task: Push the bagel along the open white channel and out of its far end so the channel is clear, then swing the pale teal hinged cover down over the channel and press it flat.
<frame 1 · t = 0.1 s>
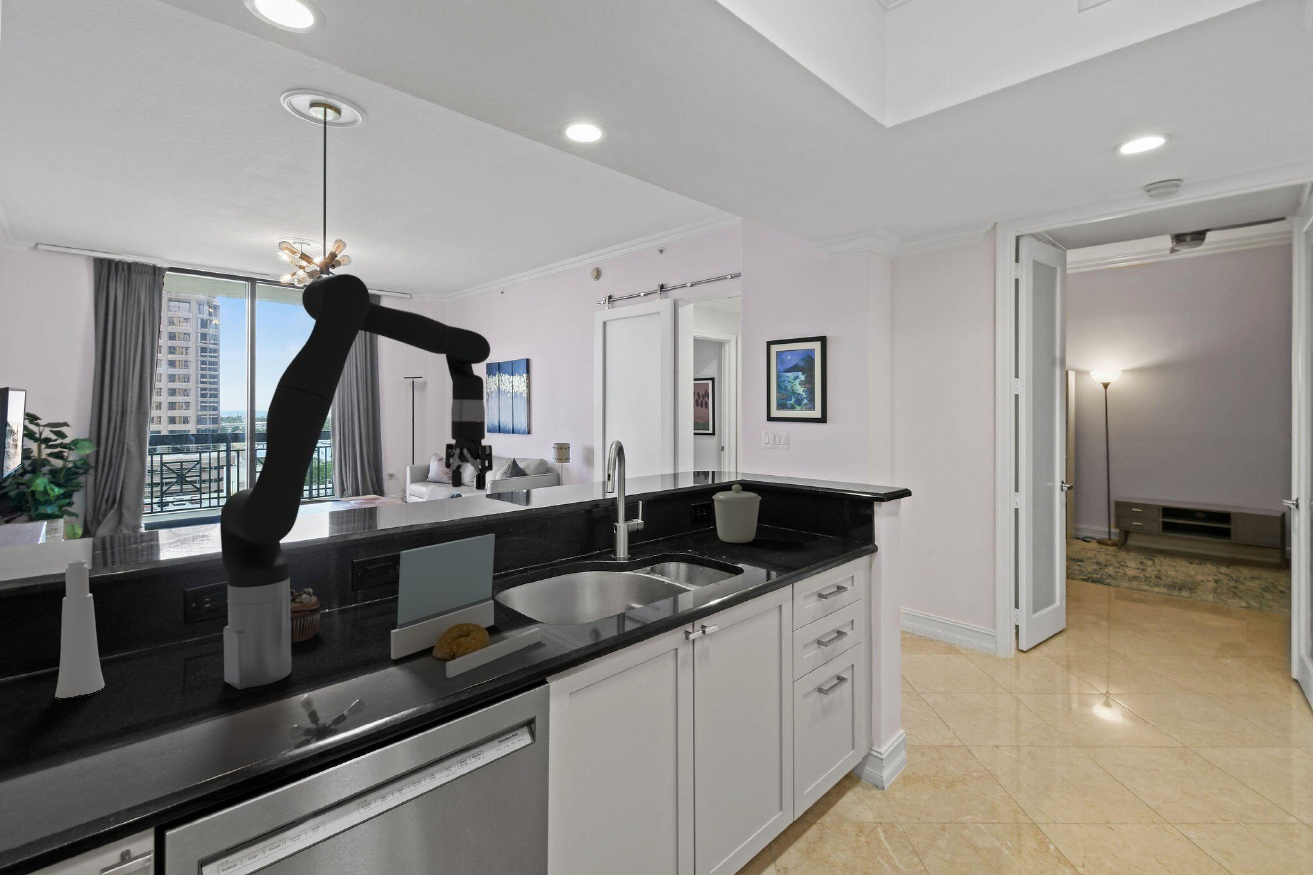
hand: (468, 488, 144), 29 cm above the worktop, tool pointing down, fingers open, 8 cm apart
canister: (736, 541, 229), on the worktop
cosmetic bottle: (80, 692, 102), on the worktop
cork: (433, 607, 148), on the worktop
cover: (449, 578, 125), point 13 cm above the worktop, hinge at 85.0°
white channel: (469, 648, 122), on the worktop
cupcake: (295, 637, 128), on the worktop
bagel: (461, 653, 120), on the worktop
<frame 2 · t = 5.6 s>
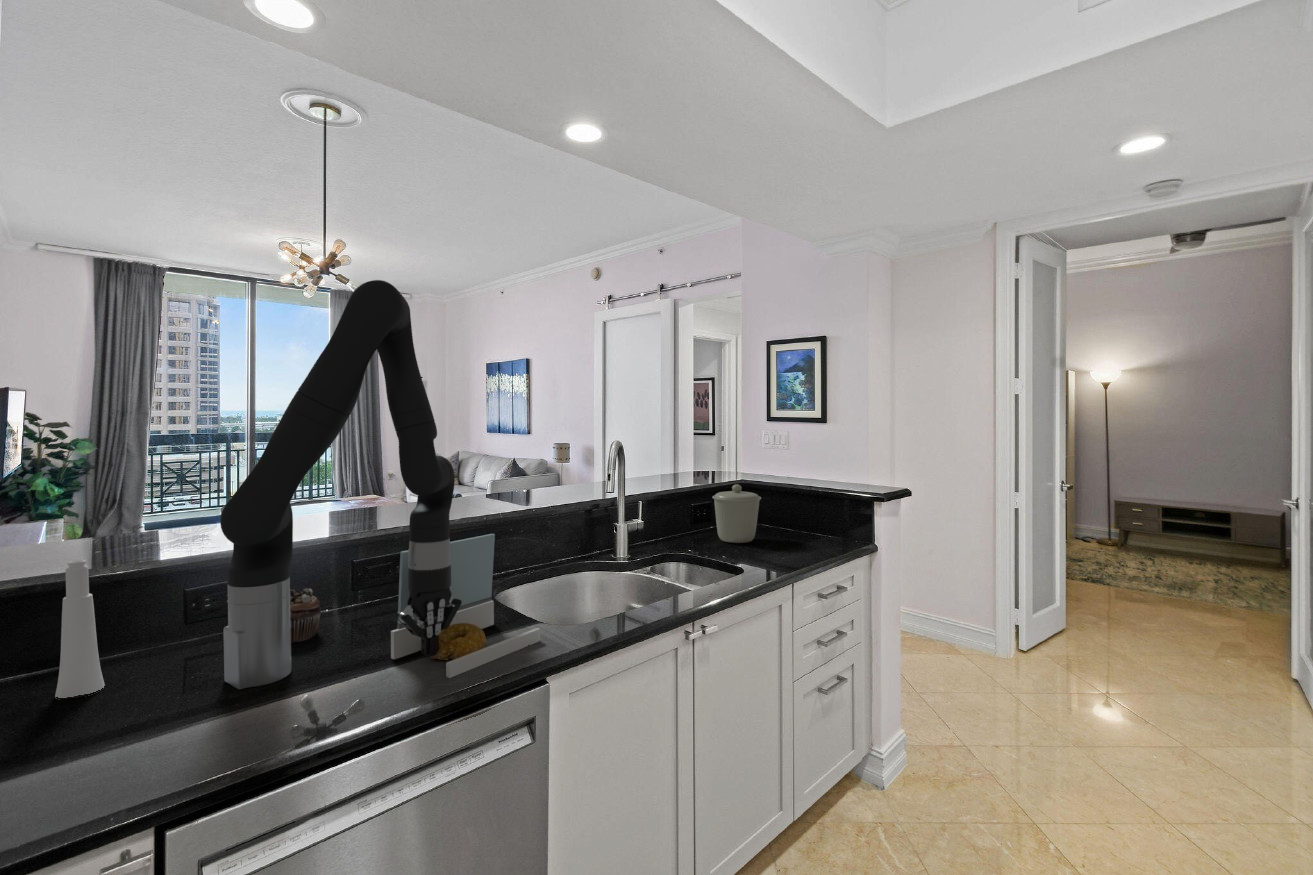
hand: (430, 655, 114), 2 cm above the worktop, tool pointing down, fingers closed
bagel: (457, 653, 120), on the worktop, touching gripper
everything else where it was.
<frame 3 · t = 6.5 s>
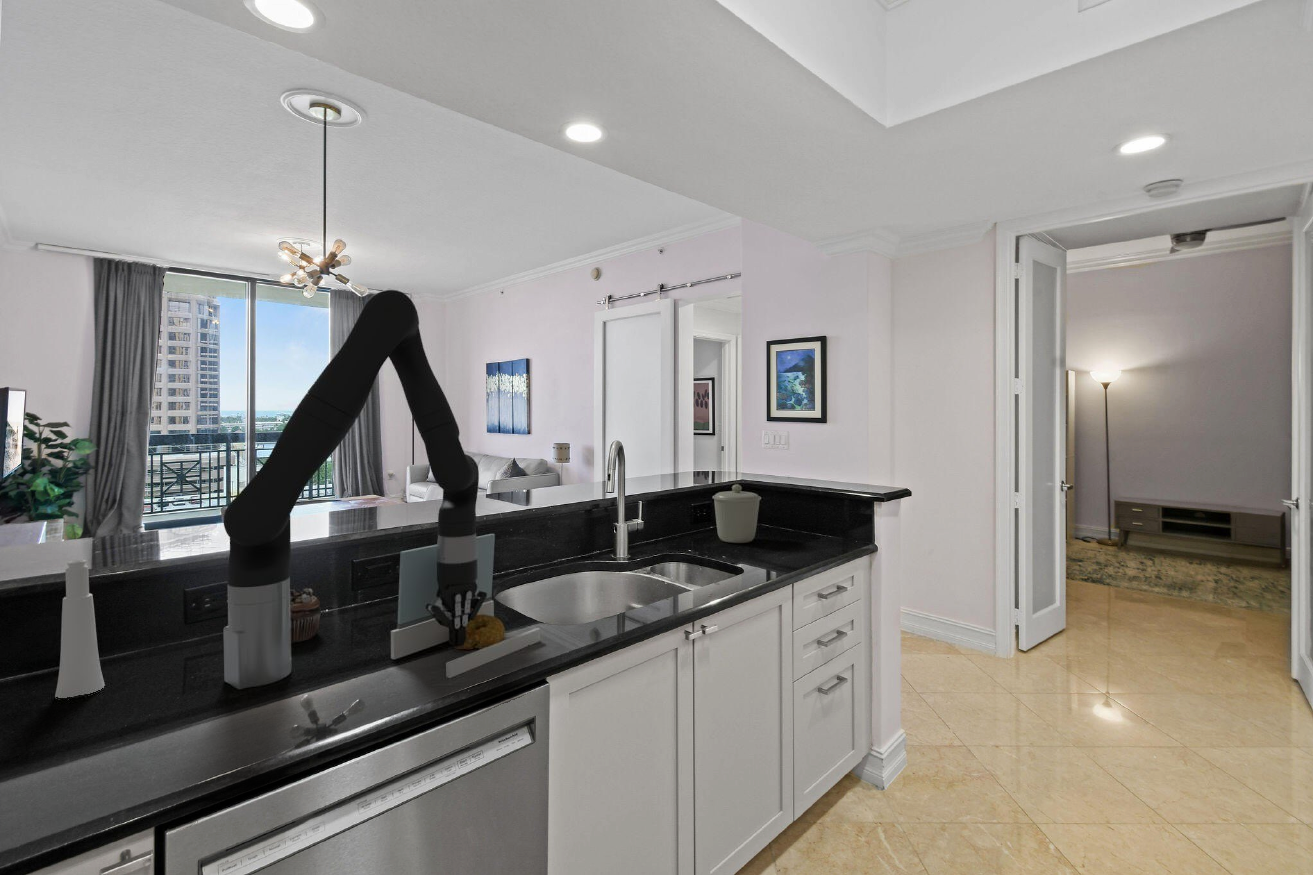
hand: (457, 645, 119), 2 cm above the worktop, tool pointing down, fingers closed
bagel: (478, 643, 125), on the worktop, touching gripper
everything else where it was.
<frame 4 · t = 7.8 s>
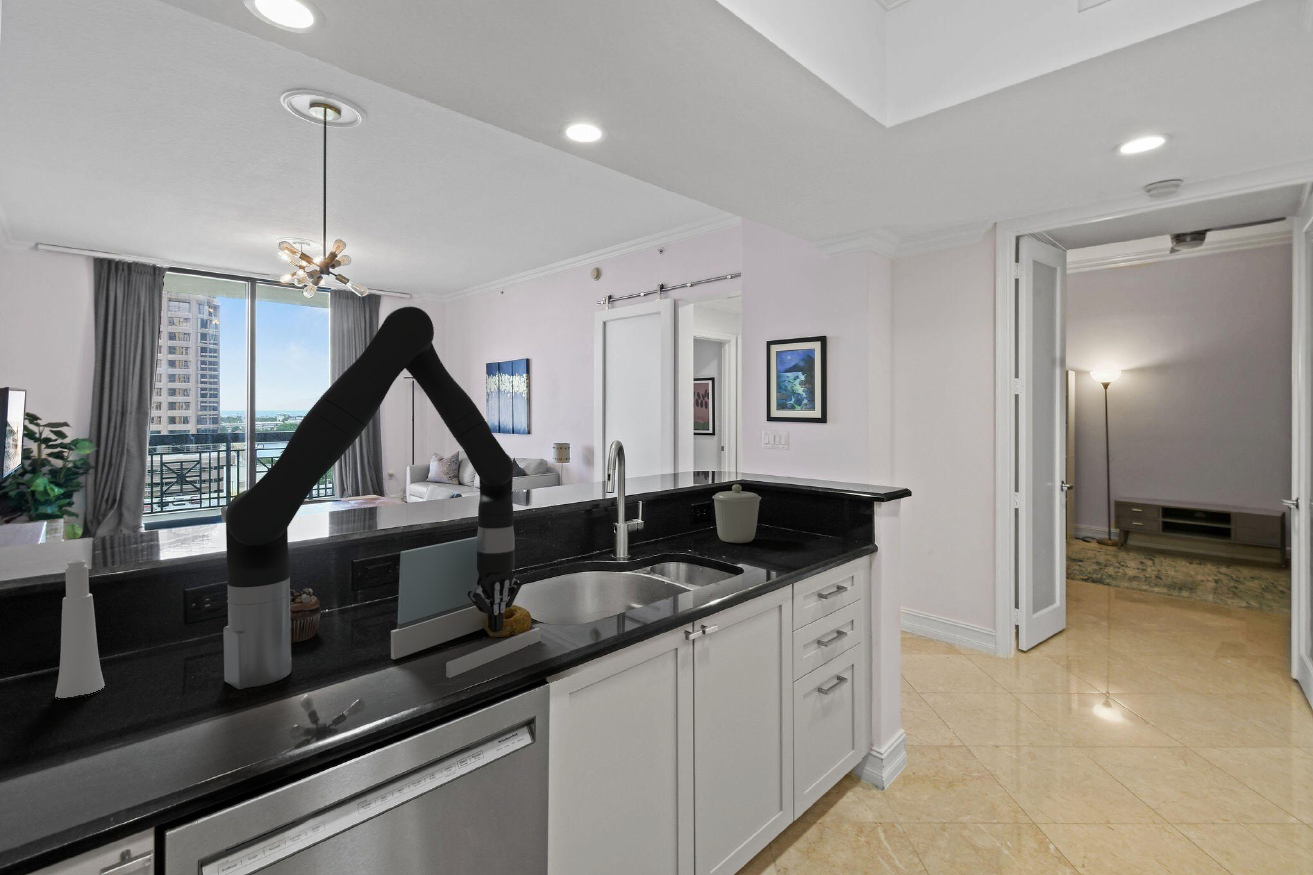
hand: (495, 630, 127), 2 cm above the worktop, tool pointing down, fingers closed
bagel: (508, 631, 133), on the worktop, touching gripper
everything else where it was.
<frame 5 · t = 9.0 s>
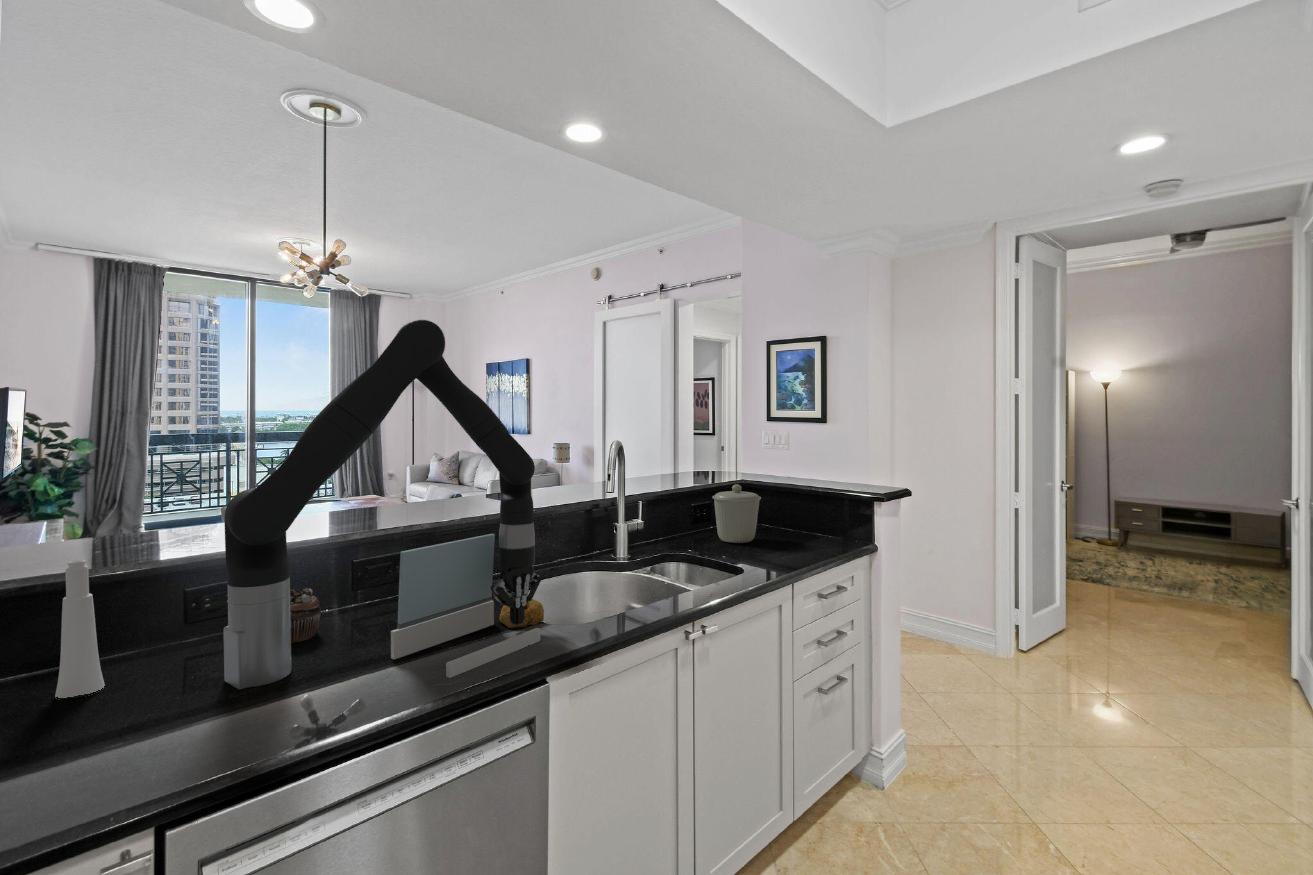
hand: (517, 623, 132), 2 cm above the worktop, tool pointing down, fingers closed
bagel: (522, 622, 139), on the worktop, touching gripper
everything else where it was.
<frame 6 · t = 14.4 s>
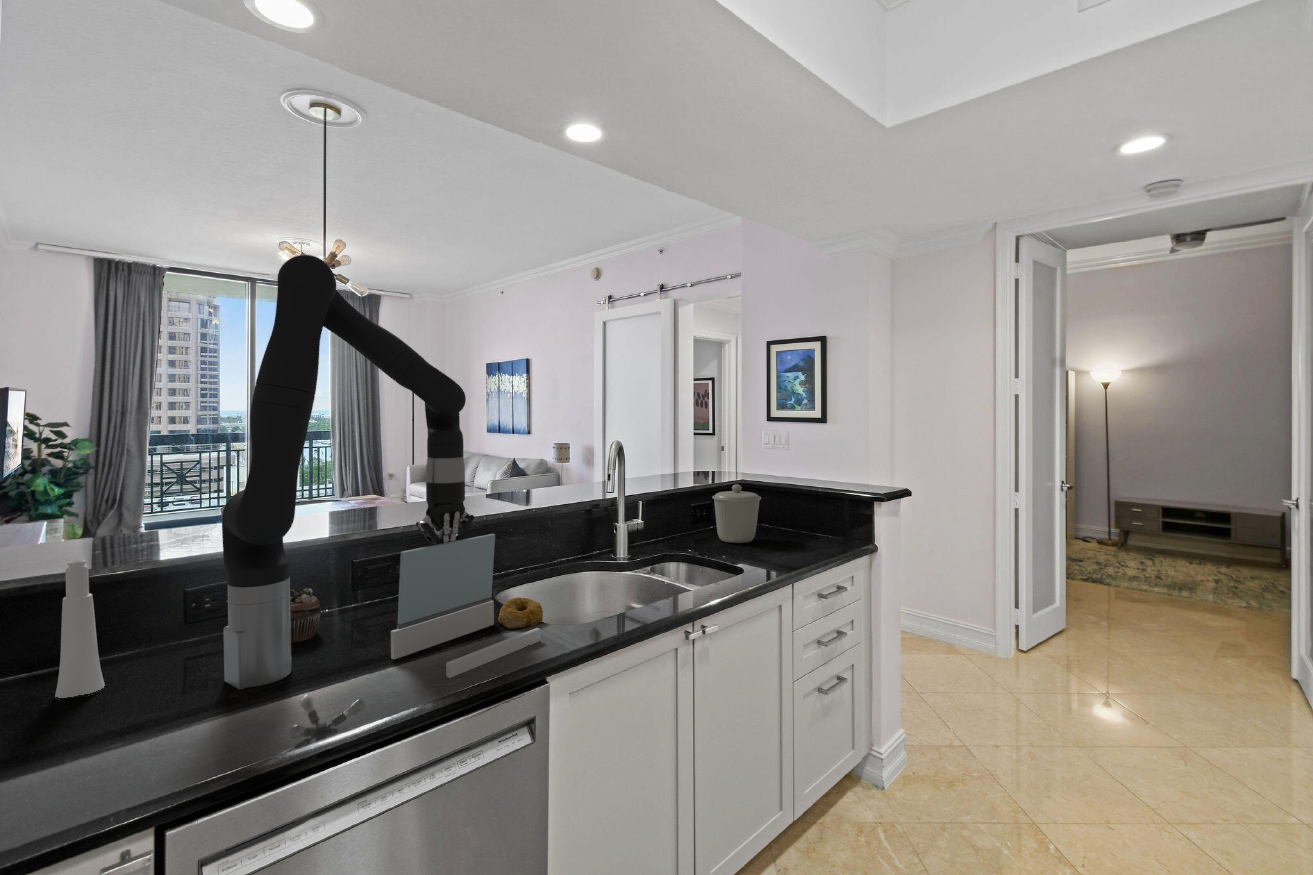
hand: (446, 563, 126), 16 cm above the worktop, tool pointing down, fingers closed
cover: (449, 578, 125), point 13 cm above the worktop, hinge at 84.6°, touching gripper
bagel: (521, 623, 138), on the worktop
everything else where it was.
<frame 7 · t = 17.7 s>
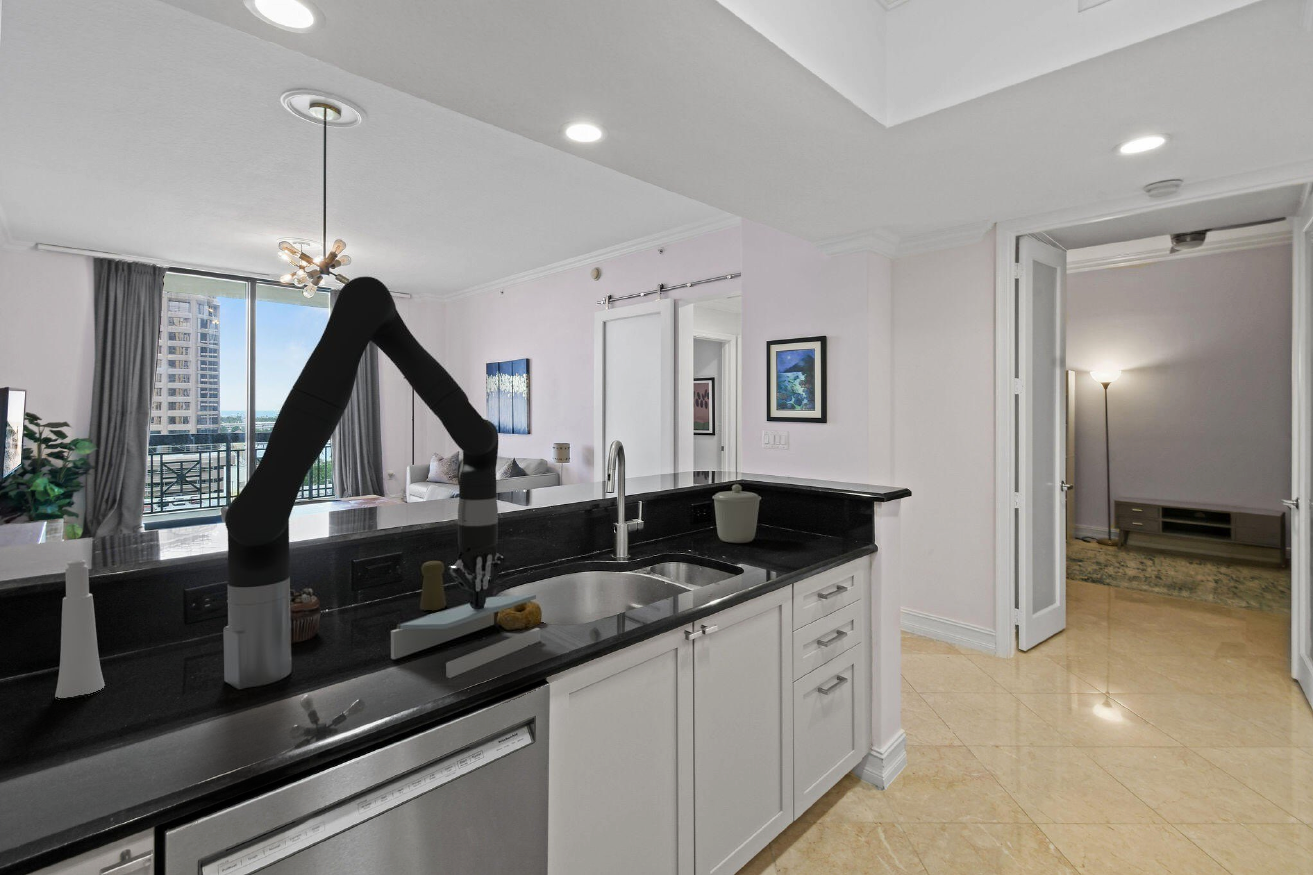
hand: (477, 608, 120), 9 cm above the worktop, tool pointing down, fingers closed
cover: (469, 611, 122), point 7 cm above the worktop, hinge at 11.8°, touching gripper
everything else where it was.
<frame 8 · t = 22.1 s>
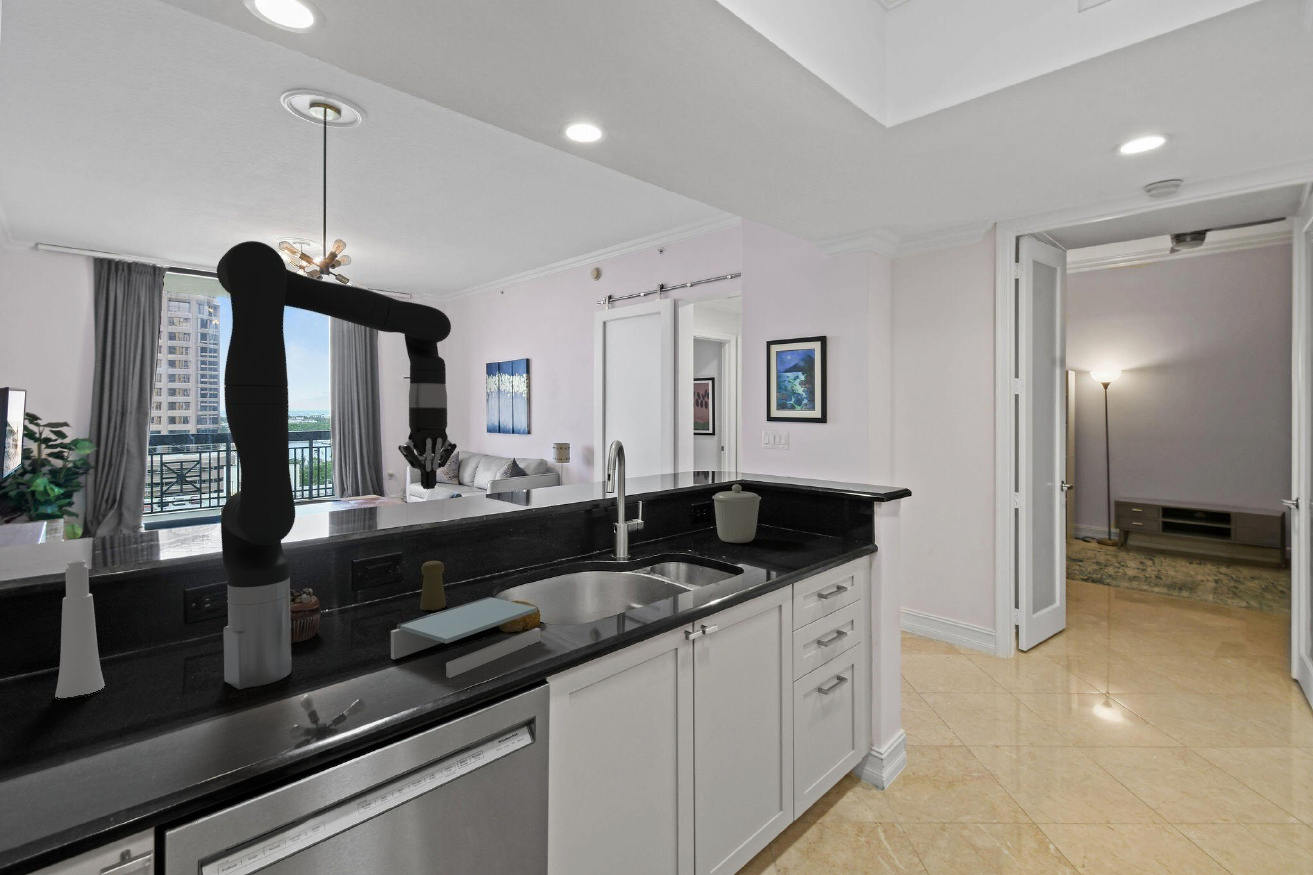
hand: (428, 488, 128), 31 cm above the worktop, tool pointing down, fingers closed
cover: (469, 617, 122), point 6 cm above the worktop, hinge at 1.5°
bagel: (518, 626, 136), on the worktop
everything else where it was.
at the end: cover at +2° (first picture: +85°); bagel inside the target area (9.4 cm from its centre), on the worktop; bagel touching worktop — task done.
